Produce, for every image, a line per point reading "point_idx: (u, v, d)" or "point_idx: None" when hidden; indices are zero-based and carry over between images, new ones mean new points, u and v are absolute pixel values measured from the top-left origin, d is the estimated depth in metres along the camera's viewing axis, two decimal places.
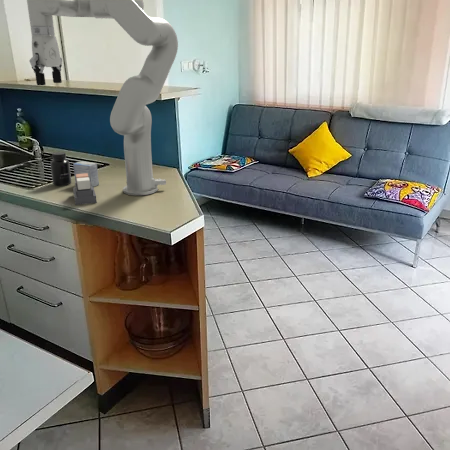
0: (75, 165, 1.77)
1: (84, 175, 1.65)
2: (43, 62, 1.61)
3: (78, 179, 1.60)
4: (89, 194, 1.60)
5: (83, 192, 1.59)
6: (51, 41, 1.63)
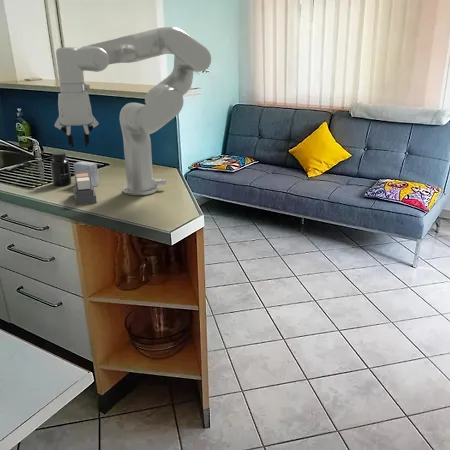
0: (75, 165, 1.77)
1: (84, 175, 1.65)
2: None
3: (78, 179, 1.60)
4: (89, 194, 1.60)
5: (83, 192, 1.59)
6: None
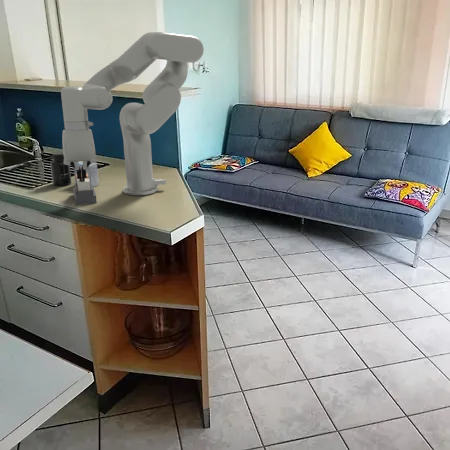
0: None
1: None
2: None
3: (78, 180, 1.60)
4: (89, 194, 1.60)
5: (83, 192, 1.59)
6: None
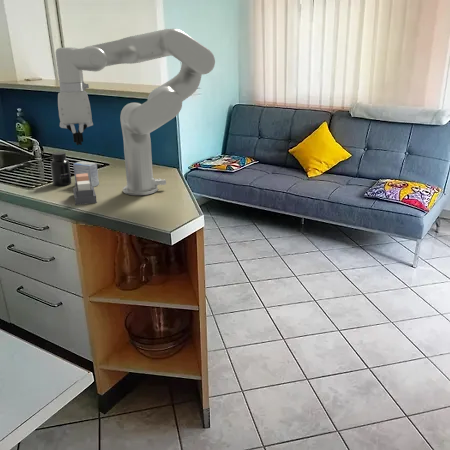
0: (75, 165, 1.77)
1: (84, 175, 1.65)
2: None
3: (78, 182, 1.60)
4: (89, 194, 1.60)
5: (83, 192, 1.59)
6: None
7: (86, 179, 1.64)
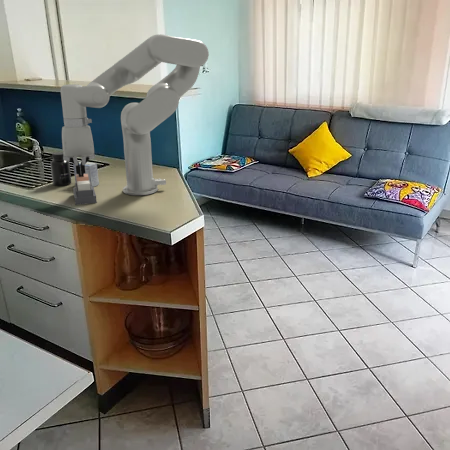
0: (75, 165, 1.77)
1: (84, 176, 1.65)
2: None
3: (78, 182, 1.60)
4: (89, 194, 1.60)
5: (83, 192, 1.59)
6: None
7: (86, 180, 1.64)
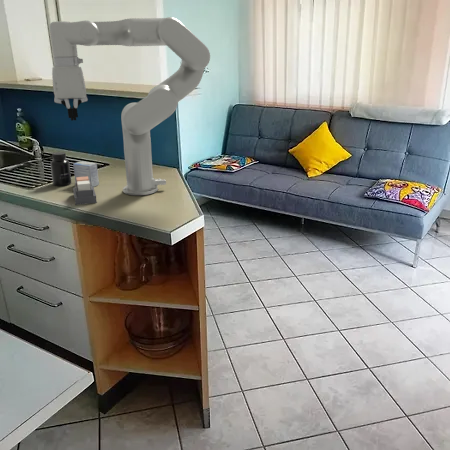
0: (75, 165, 1.77)
1: (84, 178, 1.65)
2: None
3: (78, 182, 1.60)
4: (89, 194, 1.60)
5: (83, 192, 1.59)
6: None
7: None
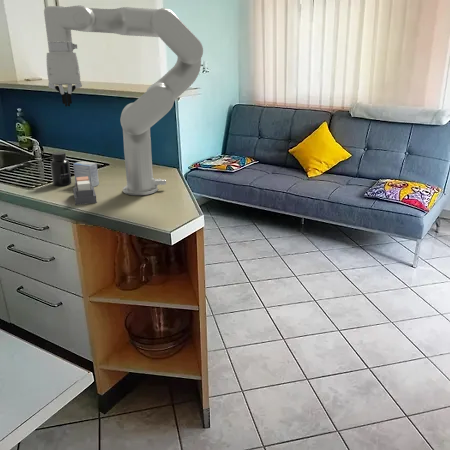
0: (75, 165, 1.77)
1: (84, 178, 1.65)
2: None
3: (78, 182, 1.60)
4: (89, 194, 1.60)
5: (83, 192, 1.59)
6: None
7: None
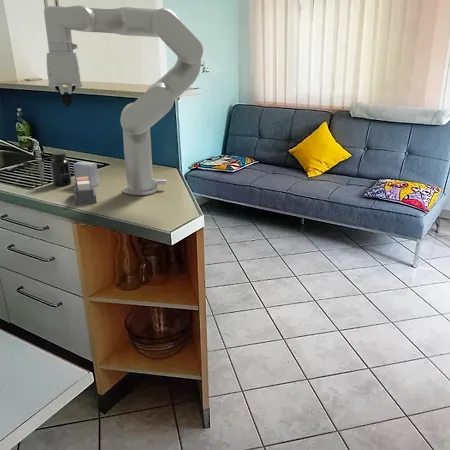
0: (75, 165, 1.77)
1: (84, 178, 1.65)
2: None
3: (78, 182, 1.60)
4: (89, 194, 1.60)
5: (83, 192, 1.59)
6: None
7: None
